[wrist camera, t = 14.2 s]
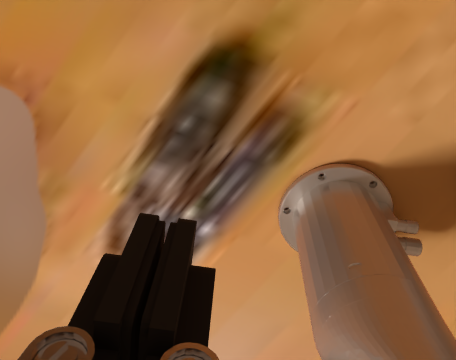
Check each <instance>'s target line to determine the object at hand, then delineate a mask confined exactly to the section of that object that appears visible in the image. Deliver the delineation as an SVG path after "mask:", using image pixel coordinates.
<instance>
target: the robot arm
mask: <svg viewBox="0 0 456 360" xmlns="http://www.w3.org/2000/svg"><path fill="white" fill-rule="evenodd" d="M321 173H323V174H322V175H319V174H321ZM371 181H372V182H371ZM287 207H288V208H287ZM278 218H279V226H280V229H281V233H282V235H283V237H284V238H285V240H286V241H287V243H288V244H289V245H290V246H291V247H292V248H293V249H294V250H296V251H297V252H298V253H299V259H300V264H301V270H302V275H303V281H304V286H305V292H306V297H307V303H308V308H309V314H310V319H311V325H312V331H313V336H314V341H315V344H316V348H317V350H318V353H319V355H320V357H321V359H322V360H456V339H455V338H454V336H453V334H452V333H451V331H450V329H449V328H448V326H447V325H446V323H445V321H444V320H443V318H442V316H441V314H440V313H439V311H438V309H437V307H436V306H435V304H434V302H433V300H432V298H431V297H430V295H429V293H428V291H427V290H426V288H425V286H424V284H423V282H422V281H421V279H420V277H419V275H418V274H417V272H416V270H415V268H414V266H413V265H412V263H411V261H410V259H409V257H408V256H407V255H411V256H419V255H420V254H421V252H422V242H421V240H420V239H415V238H408V237H397V236H396V234H395V232H396V231H401V232H404V233H411V234H416V233H417V232H418V229H419V224H418V222H417V221H411V220H400V219H397V217H395V216H394V214H393V202H392V198H391V195H390V193H389V191H388V189H387V187H386V186H385V185H384V183H383V182H382V180H381V179H379V178H378V177H377V176H376V175H375V174H374V173H372V172H370V171H369V170H367V169H365V168H362V167H359V166H356V165H350V164H330V165H325V166H321V167H318V168H315V169H312V170H310V171H308V172H307V173H305V174H303V175H301V176H300V177H299V178H298V179H296V180H295V181H294V182H293V183H292V184H291V185H290V186H289V188H288V189H287V190H286V192H285V194H284V195H283V197H282V199H281V203H280V206H279V214H278ZM196 224H197V221H194V220H187V219H180V218H179V219H178V222H177V223H173V222H171V223H170V226H169V229H168V233H167V236H166V239H165V243H164V236H165V221H159V216H158V215H151V214H144V213H140V214H139V216H138V219H137V221H136V223H135V225H134V228H133V230H132V232H131V235H130V237H129V239H128V241H127V244H126V246H125V248H124V251H123V253H122V255H114V254H107V253H106V254H104V255H103V257H102V258H101V260H100V262H99V264H98V266H97V268H96V270H95V272H94V274H93V276H92V278H91V280H90V282H89V284H88V286H87V288H86V290H85V292H84V294H83V296H82V298H81V300H80V302H79V304H78V306H77V308H76V310H75V312H74V314H73V316H72V318H71V320H70V322H69V324H68V326H65V327H57V328H54V329H51V330H48V331H46V332H44V333H43V334H41V335H39V336H38V337H36V338H35V339H34V340H33V341H32V342H31V343H30V344H29V345H28V347H27V348H26V349H25V351H24V352H23V353H22V354H21V356H20V357H19V358H18V360H219V358H218V357H217V355H216V354H215V353H214V352H213V351H212V350H210V349H209V348H208V340H209V330H210V320H211V310H212V301H213V291H214V281H215V271H216V269H215V268H207V267H200V266H193V265H191V264H192V256H193V248H194V240H195V232H196Z"/></svg>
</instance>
